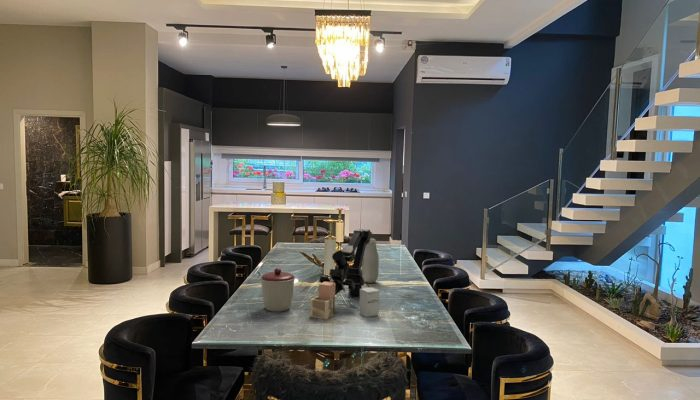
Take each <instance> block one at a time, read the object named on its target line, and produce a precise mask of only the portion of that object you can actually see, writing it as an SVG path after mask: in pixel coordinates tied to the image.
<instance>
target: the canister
mask: <svg viewBox="0 0 700 400" xmlns="http://www.w3.org/2000/svg"><path fill="white" fill-rule="evenodd" d="M259 280H260V281H261V292H262V293H261V294H262V299H263V307H264V308H265V309H266V310H267V311H268V312H278V313H279V312H285V311H288V310H289V309H290V308H291V306H292V302H293V295H294V285H295V280H296V275H294V274H293V273H291V272H286V271H282V269H281V268H280V267H278V268H277V267H276V268H275V269H274V270H273V271H271V272H267V273H264V274H262V275H261V276H259Z"/></svg>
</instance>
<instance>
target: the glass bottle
mask: <svg viewBox="0 0 700 400" xmlns="http://www.w3.org/2000/svg"><path fill="white" fill-rule="evenodd" d="M379 261H380V260H379V252H378V249H377V240H376V239H375V238H373V237H371V239H370V242H369V243H368V244H367V245H366V247H365V252H364V256H363V261H362V265H361V271H362V277H363V279H364V283H369V284H373V283H375V282H377V280H378V278H379Z"/></svg>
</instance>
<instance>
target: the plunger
mask: <svg viewBox="0 0 700 400" xmlns="http://www.w3.org/2000/svg"><path fill="white" fill-rule="evenodd" d="M318 296H319V300H323V301H327V300H329V299H331V298H334V311H335V310H336V295H335V283H332V282H323V283H321V282H320V283H319V284H318Z"/></svg>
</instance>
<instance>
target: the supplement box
mask: <svg viewBox="0 0 700 400" xmlns="http://www.w3.org/2000/svg"><path fill="white" fill-rule="evenodd" d="M358 310H359V311H358V313H359V314H360V315H362V316H363V317H365V318H369V317H373V316H379V315H380V313H379V312H380V311H379V310H380V290H379V289H377V288H375V287H373V286H372V287H364V288H362V289H360V296H359V309H358Z"/></svg>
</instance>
